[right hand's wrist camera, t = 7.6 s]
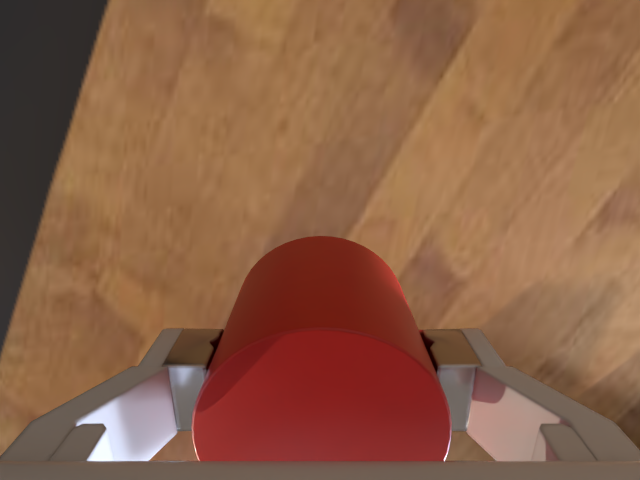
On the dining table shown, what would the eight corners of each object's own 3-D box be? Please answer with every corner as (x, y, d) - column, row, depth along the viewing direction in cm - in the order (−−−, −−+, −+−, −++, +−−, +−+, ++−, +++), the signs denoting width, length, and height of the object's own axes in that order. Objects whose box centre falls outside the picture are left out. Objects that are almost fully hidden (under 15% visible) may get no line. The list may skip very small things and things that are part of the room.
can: (318, 199, 11) (318, 272, 7) (438, 311, 12) (506, 438, 8) (204, 315, 12) (137, 442, 8) (322, 406, 13) (324, 562, 9)
